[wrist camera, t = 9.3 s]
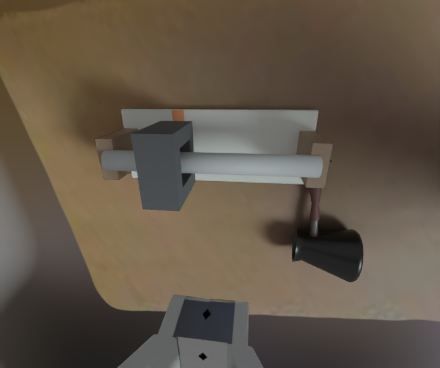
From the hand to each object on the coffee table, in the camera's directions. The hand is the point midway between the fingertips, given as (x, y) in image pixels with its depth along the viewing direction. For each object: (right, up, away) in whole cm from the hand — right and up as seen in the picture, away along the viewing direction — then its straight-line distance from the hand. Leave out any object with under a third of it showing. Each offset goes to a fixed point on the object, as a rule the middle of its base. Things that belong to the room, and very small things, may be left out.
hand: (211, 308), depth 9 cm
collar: (-5, +9, +21) cm, 23 cm away
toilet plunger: (+17, +1, +27) cm, 31 cm away
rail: (0, +11, +24) cm, 26 cm away
